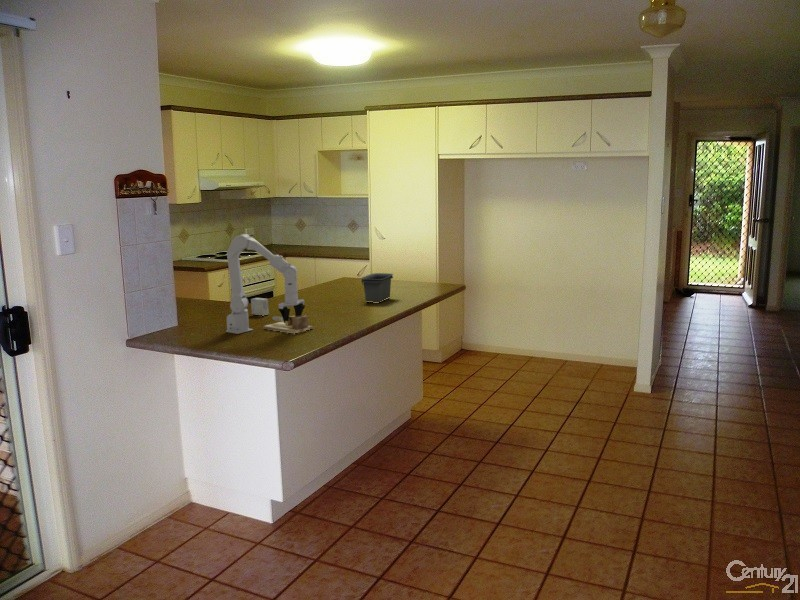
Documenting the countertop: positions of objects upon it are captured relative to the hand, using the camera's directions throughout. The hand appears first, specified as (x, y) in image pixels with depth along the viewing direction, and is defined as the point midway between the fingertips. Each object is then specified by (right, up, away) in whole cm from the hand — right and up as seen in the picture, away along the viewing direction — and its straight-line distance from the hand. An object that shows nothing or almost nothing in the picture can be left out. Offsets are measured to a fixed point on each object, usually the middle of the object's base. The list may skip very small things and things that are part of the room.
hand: (292, 321), depth 306 cm
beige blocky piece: (-2, -4, +2) cm, 5 cm away
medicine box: (-22, +2, +36) cm, 42 cm away
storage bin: (+36, +9, +73) cm, 81 cm away
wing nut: (+2, -2, -1) cm, 3 cm away
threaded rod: (-3, 0, +3) cm, 4 cm away
